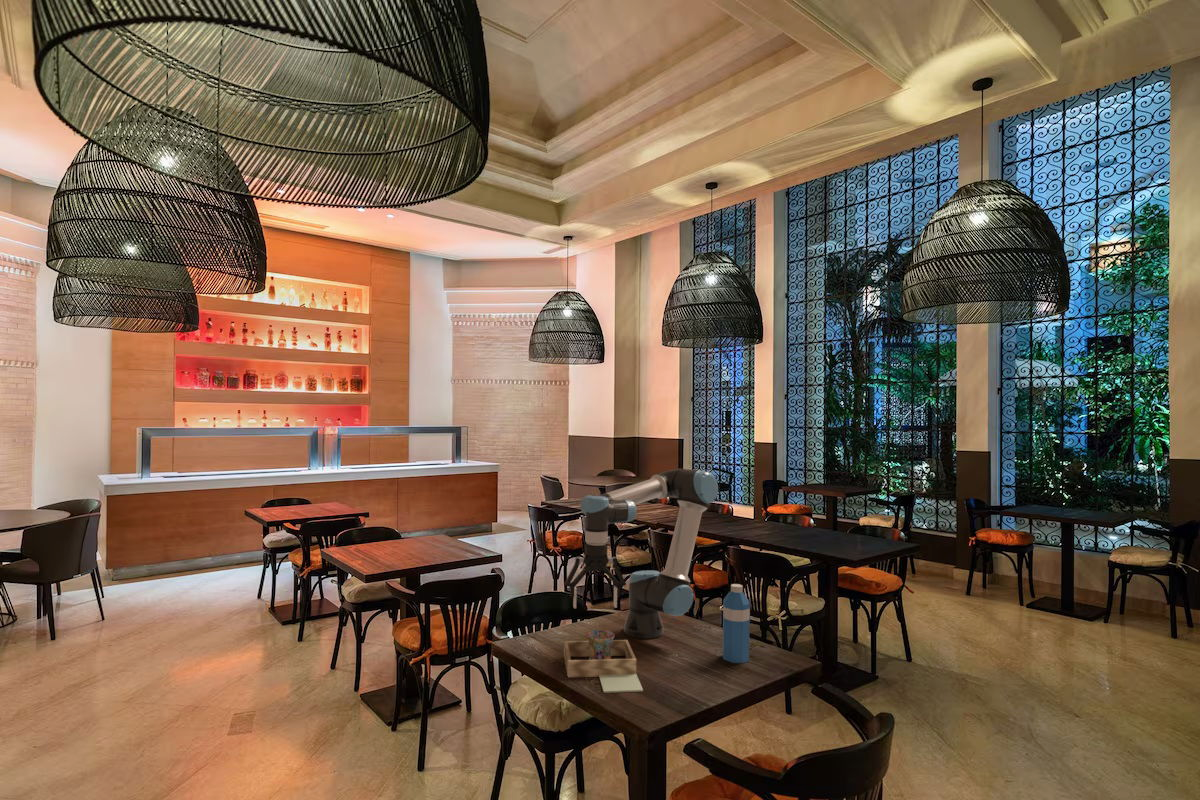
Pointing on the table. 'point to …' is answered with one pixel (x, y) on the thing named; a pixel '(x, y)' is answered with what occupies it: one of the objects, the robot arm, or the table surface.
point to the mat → (620, 683)
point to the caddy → (601, 665)
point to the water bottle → (736, 625)
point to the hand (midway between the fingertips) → (595, 607)
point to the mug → (600, 644)
